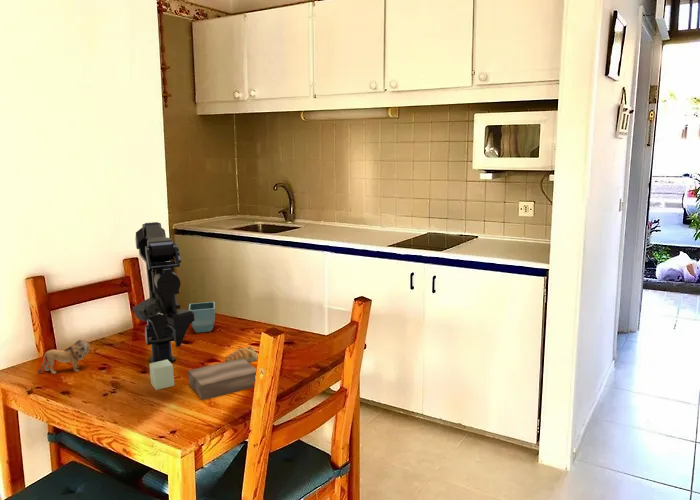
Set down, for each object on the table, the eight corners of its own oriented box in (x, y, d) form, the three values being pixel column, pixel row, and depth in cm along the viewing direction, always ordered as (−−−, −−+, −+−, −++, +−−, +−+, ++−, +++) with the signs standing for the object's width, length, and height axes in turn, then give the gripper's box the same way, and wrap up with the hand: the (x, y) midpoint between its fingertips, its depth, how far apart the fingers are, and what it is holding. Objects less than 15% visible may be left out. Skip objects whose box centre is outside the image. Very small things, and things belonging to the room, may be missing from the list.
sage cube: (151, 383, 163) (149, 363, 162) (169, 379, 166) (167, 359, 164) (156, 390, 159) (154, 369, 158) (174, 385, 161) (172, 365, 160)
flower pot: (190, 327, 210) (189, 303, 208) (216, 325, 212) (214, 301, 210) (190, 335, 202) (188, 310, 200) (216, 333, 204) (215, 308, 202)
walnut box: (189, 385, 162) (188, 370, 162) (243, 372, 171) (243, 358, 170) (202, 401, 152) (201, 385, 152) (260, 386, 161) (259, 371, 160)
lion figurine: (92, 363, 178) (89, 335, 176) (91, 370, 173) (88, 341, 171) (38, 371, 173) (34, 342, 171) (36, 378, 168) (32, 348, 166)
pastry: (231, 368, 173) (231, 356, 172) (220, 362, 178) (220, 350, 177) (259, 360, 179) (258, 348, 178) (248, 354, 184) (247, 343, 183)
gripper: (118, 287, 157) (123, 343, 159) (154, 298, 144) (160, 359, 147) (156, 280, 165) (161, 333, 168) (194, 289, 152) (198, 347, 155)
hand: (168, 342), depth 159 cm, fingers open, 9 cm apart
